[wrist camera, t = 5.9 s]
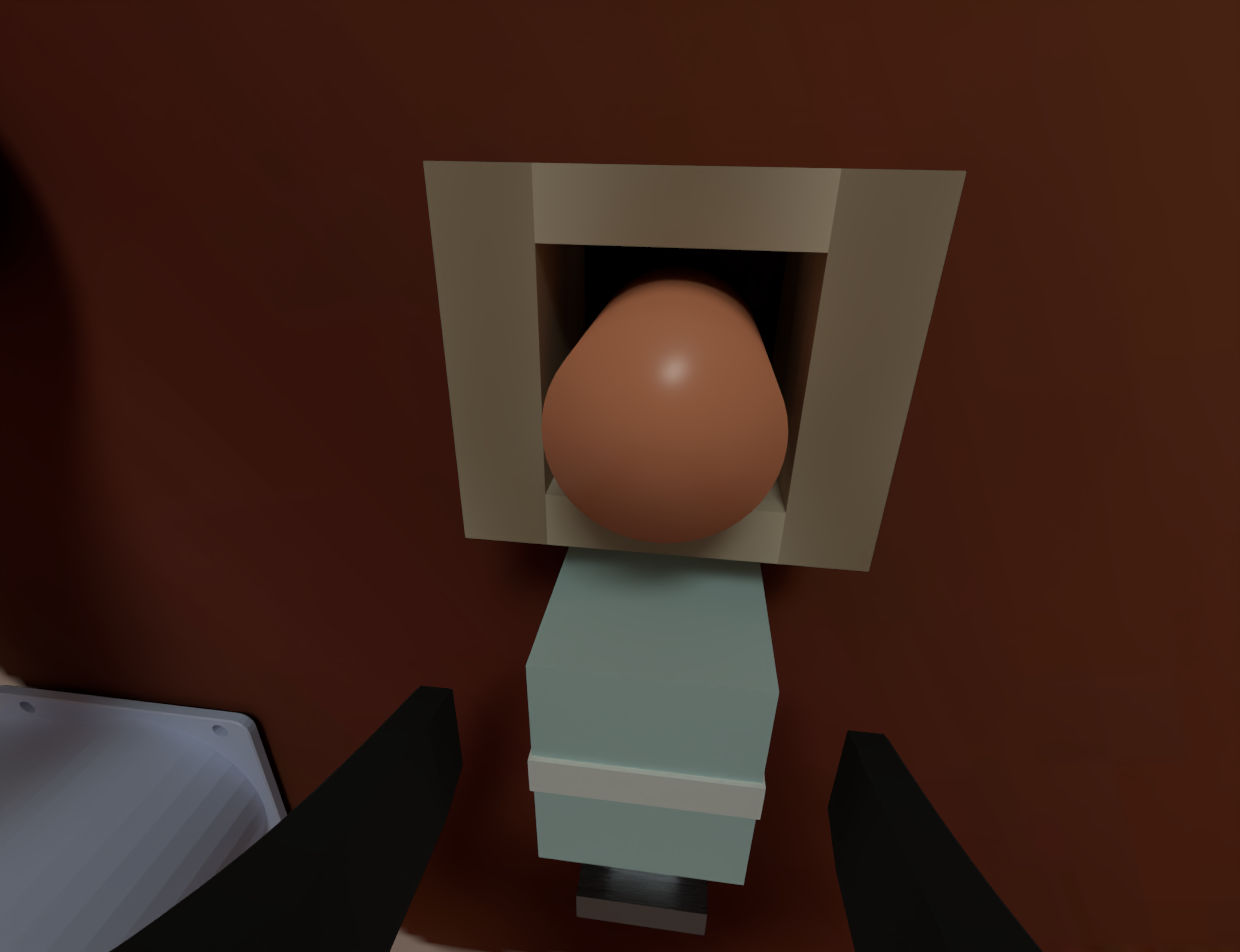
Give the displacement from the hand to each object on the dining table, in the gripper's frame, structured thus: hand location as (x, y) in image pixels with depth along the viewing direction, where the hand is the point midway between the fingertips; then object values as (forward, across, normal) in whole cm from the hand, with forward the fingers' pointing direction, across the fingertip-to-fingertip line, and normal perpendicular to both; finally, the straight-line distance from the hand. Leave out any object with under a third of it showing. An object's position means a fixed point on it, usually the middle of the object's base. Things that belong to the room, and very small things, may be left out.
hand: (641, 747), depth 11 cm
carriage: (+3, 0, 0) cm, 3 cm away
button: (+3, 0, -7) cm, 7 cm away
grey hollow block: (+5, 0, -7) cm, 8 cm away
